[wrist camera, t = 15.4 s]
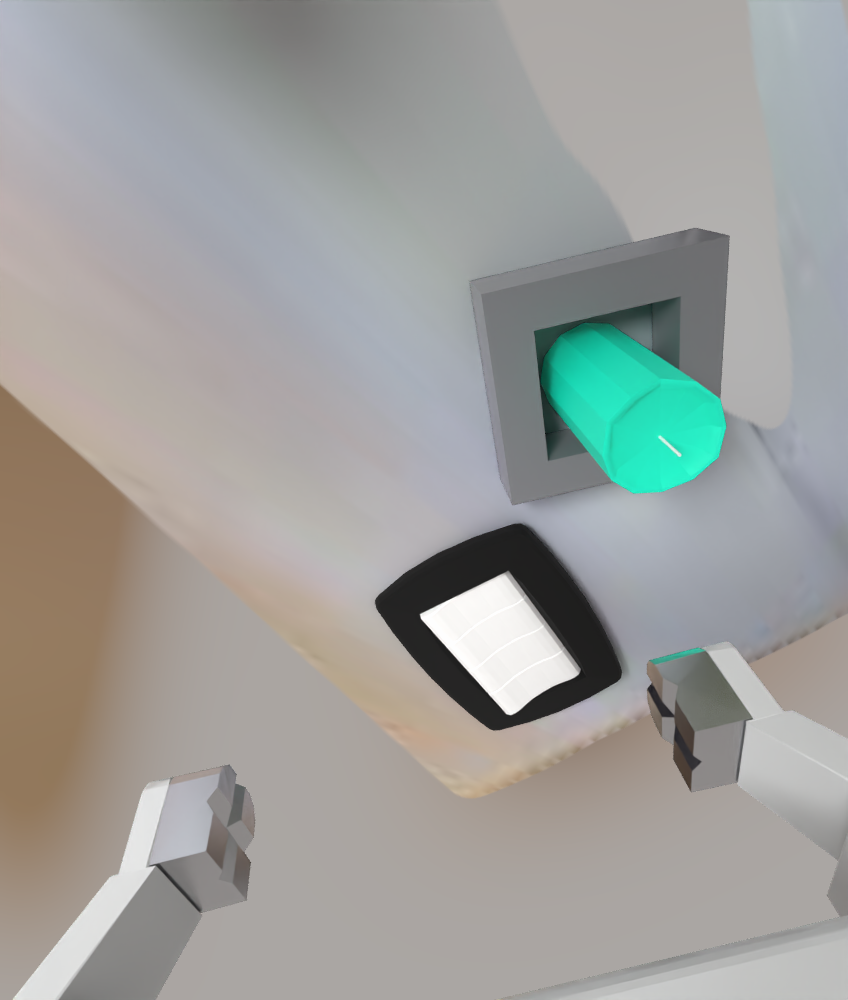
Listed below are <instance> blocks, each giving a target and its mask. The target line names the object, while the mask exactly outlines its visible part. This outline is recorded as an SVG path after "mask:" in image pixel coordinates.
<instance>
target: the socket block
mask: <svg viewBox="0 0 848 1000" xmlns="http://www.w3.org/2000/svg"><path fill="white" fill-rule="evenodd" d="M729 237H730V236H729V235H725V234H720V233H716V232H711V231H707V230H703V229H698V228H693V229H688V230H685V231H680V232H676V233H672V234H667V235H663V236H659V237H654V238H650V239H647V240H642V241H638V242H633V243H629V244H625V245H621V246H616V247H612V248H608V249H604V250H599V251H595V252H591V253H587V254H582V255H578V256H574V257H570V258H565V259H561V260H557V261H553V262H549V263H544V264H540V265H536V266H532V267H527V268H523V269H519V270H515V271H510V272H506V273H502V274H498V275H493V276H489V277H485V278H481V279H477V280H472V281H469V284H470V290H471V296H472V303H473V309H474V315H475V322H476V328H477V335H478V341H479V347H480V354H481V360H482V366H483V373H484V379H485V386H486V392H487V398H488V405H489V411H490V417H491V424H492V430H493V436H494V443H495V449H496V456H497V462H498V468H499V475H500V480H501V482H502V484H503V486H504V488H505V490H506V493H507V495H508V497H509V499H510V501H511V503H512V505H517V504H521V503H525V502H529V501H534V500H538V499H542V498H546V497H551V496H555V495H559V494H564V493H568V492H572V491H576V490H581V489H585V488H589V487H594V486H598V485H602V484H606V483H611V482H613V481H612V480H611V479H610V478H609V477H608V476H607V474H606V473H605V472H604V471H603V469H602V468H601V467H600V466H599V464H598V463H597V462H596V461H595V459H594V458H593V457H592V456H591V454H590V453H589V452H588V451H587V449H586V448H585V447H584V446H583V444H582V443H581V442H580V441H579V439H578V438H577V437H576V436H575V434H574V433H573V432H572V431H571V429H566V430H562V431H557V432H553V433H549V434H545V429H544V420H543V410H542V401H541V392H540V382H539V373H538V364H537V354H536V345H535V336H534V331H536V330H540V329H544V328H548V327H553V326H557V325H561V324H565V323H570V322H574V321H578V320H582V319H587V318H591V317H595V316H599V315H604V314H608V313H612V312H616V311H621V310H625V309H629V308H633V307H638V306H642V305H646V304H650V303H652V352H653V353H654V354H656V355H657V356H659V357H660V358H662V359H663V360H665V361H666V362H668V363H669V364H671V365H672V366H674V367H675V368H677V369H678V370H680V371H681V372H683V373H684V374H686V375H687V376H689V377H690V378H692V379H693V380H695V381H696V382H698V383H699V384H701V385H702V386H703V387H705V388H706V389H707V390H709V391H710V392H711V393H713V394H714V395H716V396H717V397H718V398H720V394H721V376H722V359H723V340H724V324H725V307H726V289H727V272H728V255H729Z"/></svg>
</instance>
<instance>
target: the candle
mask: <svg viewBox="0 0 848 1000" xmlns="http://www.w3.org/2000/svg"><path fill="white" fill-rule="evenodd" d="M540 383H541V385H542V387H543V390H544V392H545V395H546V397H547V399H548V402H549V403H550V405H551V406H552V407H553V408H554V410H555V411H556V412H557V413H558V415H559V416H560V417H561V418H562V419H563V421H564V422H565V423H566V424H567V426H568V427H569V428H570V429H571V431H572V432H573V433H574V434H575V436H576V437H577V438H578V439H579V441H580V442H581V443H582V444H583V446H584V447H585V448H586V449H587V451H588V452H589V453H590V454H591V456H592V457H593V458H594V459H595V461H596V462H597V463H598V464H599V466H600V467H601V468H602V469H603V471H604V472H605V473H606V474H607V476H608V477H609V478H610V479H611V480H612V481H613V482H615V483H617V484H618V485H620V486H622V487H623V488H625V489H627V490H629V491H630V492H632V493H651V492H663V491H665V490H668V489H670V488H673V487H675V486H678V485H680V484H683V483H686V482H688V481H691V480H693V479H694V478H695V477H696V476H698V475H699V474H700V473H701V472H702V471H703V470H705V469H706V468H707V467H708V466H709V465H710V464H711V463H713V462H714V461H715V460H716V459H717V458H718V457H719V454H720V450H721V446H722V442H723V438H724V434H725V430H726V421H725V417H724V413H723V408H722V404H721V400H720V398H718V397H717V396H716V395H714V394H713V393H711V392H710V391H709V390H707V389H706V388H705V387H703V386H702V385H701V384H699V383H698V382H696V381H695V380H693V379H692V378H690V377H689V376H687V375H686V374H684V373H683V372H681V371H680V370H678V369H677V368H675V367H674V366H672V365H671V364H669V363H668V362H666V361H665V360H663V359H662V358H660V357H659V356H657V355H656V354H654V353H653V352H651V351H650V350H648V349H647V348H645V347H644V346H642V345H641V344H639V343H638V342H636V341H635V340H633V339H632V338H630V337H629V336H627V335H626V334H624V333H623V332H621V331H620V330H618V329H617V328H615V327H614V326H612V325H611V324H609V323H582V324H580V325H579V326H577V327H575V328H573V329H571V330H569V331H567V332H565V333H563V334H561V335H560V336H559V337H558V339H557V340H556V341H555V343H554V344H553V345H552V347H551V348H550V350H549V351H548V352H547V354H546V355H545V356H544V360H543V367H542V373H541V379H540Z"/></svg>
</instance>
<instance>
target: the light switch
mask: <svg viewBox="0 0 848 1000" xmlns="http://www.w3.org/2000/svg"><path fill="white" fill-rule="evenodd" d="M375 604H376V608H377V610H378V612H379V613H380V614H381V616H382V617H383V619H384V620H385V622H386V623H387V625H388V626H389V627H390V629H391V630H392V632H393V633H394V634H395V636H396V637H397V638H398V639H399V641H400V642H401V643H402V644H403V646H404V647H405V648H406V649H407V651H408V652H409V653H410V654H411V656H412V657H413V658H414V659H415V660H416V662H417V663H418V664H419V665H420V666H421V667H422V668H423V669H424V670H425V672H426V673H427V674H428V675H429V676H430V677H431V678H432V679H433V680H434V681H435V682H436V683H437V684H438V685H439V686H440V687H441V688H442V689H443V690H444V691H445V692H446V693H447V694H448V695H449V696H450V697H451V698H452V699H454V700H455V701H456V702H457V703H458V704H459V705H460V706H462V707H463V708H464V709H465V710H466V711H467V712H468V713H470V714H471V715H472V716H473V717H474V718H476V719H477V720H478V721H480V722H481V723H482V724H484V725H485V726H486V727H488V728H489V729H491V730H502V729H505V728H509V727H513V726H516V725H520V724H524V723H528V722H531V721H534V720H536V719H539V718H542V717H545V716H548V715H551V714H554V713H556V712H559V711H561V710H563V709H566V708H568V707H570V706H572V705H574V704H576V703H579V702H581V701H583V700H585V699H587V698H589V697H591V696H593V695H595V694H596V693H598V692H600V691H602V690H603V689H605V688H607V687H609V686H610V685H612V684H614V683H616V682H617V681H618V680H619V679H620V678H621V674H622V670H621V667H620V664H619V662H618V659H617V657H616V654H615V652H614V649H613V647H612V645H611V643H610V641H609V639H608V637H607V635H606V633H605V631H604V629H603V627H602V625H601V623H600V621H599V620H598V618H597V617H596V615H595V613H594V612H593V610H592V608H591V607H590V605H589V603H588V602H587V600H586V598H585V597H584V596H583V594H582V593H581V592H580V590H579V589H578V587H577V586H576V585H575V583H574V582H573V580H572V579H571V578H570V576H569V575H568V574H567V572H566V571H565V570H564V569H563V568H562V566H561V565H560V564H559V563H558V561H557V560H556V559H555V558H554V557H553V555H552V554H551V553H550V552H549V551H548V549H547V548H546V547H545V546H544V545H543V544H542V543H541V542H540V541H539V540H538V539H537V538H536V537H535V535H534V534H533V533H532V532H531V531H530V530H529V529H528V528H527V527H526V526H524V525H522V524H513V525H510V526H507V527H504V528H501V529H498V530H494V531H491V532H488V533H485V534H482V535H479V536H476V537H473V538H471V539H469V540H467V541H465V542H462V543H460V544H458V545H456V546H453V547H451V548H449V549H447V550H444V551H442V552H440V553H438V554H436V555H434V556H432V557H431V558H429V559H427V560H426V561H424V562H422V563H421V564H419V565H417V566H416V567H414V568H412V569H411V570H409V571H407V572H406V573H405V574H403V575H402V576H401V577H400V578H398V579H397V580H396V581H395V582H394V583H393V584H391V585H390V586H389V587H388V588H387V589H385V590H384V591H383V592H382V593H381V594H380V595H378V597H377V598H376V600H375Z"/></svg>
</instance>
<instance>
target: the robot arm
mask: <svg viewBox="0 0 848 1000" xmlns="http://www.w3.org/2000/svg"><path fill="white" fill-rule="evenodd" d="M647 675H648V677H649V678H650V680H651V682H652V683H651V685H650V686H649V687H648V688H647V699H648V704H649V708H650V712H651V716H652V718H653V720H654V723H655V725H656V727H657V729H658V731H659V733H660V735H661V737H662V738H663V739H664V740H666V741H668V742H669V743H671V744H672V745H674V748H673V760H674V762H675V764H676V765H677V767H678V769H679V771H680V773H681V774H682V776H683V778H684V780H685V782H686V784H687V786H688V788H689V790H690V791H691V792H695V791H700V790H704V789H709V788H714V787H719V786H723V785H728V784H732V783H737V782H738V786H739V787H741V788H742V789H743V790H745V791H746V792H747V793H749V794H750V795H752V796H753V797H754V798H755V799H757V800H758V801H759V802H761V803H762V804H763V805H765V806H766V807H767V808H769V809H770V810H771V811H773V812H774V813H775V814H777V815H778V816H779V817H781V818H782V819H783V820H785V821H786V822H787V823H789V824H790V825H791V826H793V827H794V828H795V829H797V830H798V831H799V832H801V833H802V834H803V835H805V836H806V837H807V838H809V839H810V840H812V841H813V842H814V843H815V844H817V845H818V846H819V847H821V848H822V849H823V850H825V851H826V852H827V853H829V854H830V855H831V856H833V857H834V858H835V859H837V860H838V863H837V867H836V870H835V872H834V875H833V878H832V881H831V884H830V887H829V890H828V894H827V896H828V898H829V900H830V901H831V903H832V905H833V906H834V908H835V909H836V911H837V913H838V914H839V916H840V917H838V918H834V919H829V920H825V921H822V922H817V923H813V924H809V925H805V926H800V927H796V928H792V929H788V930H784V931H780V932H776V933H771V934H767V935H763V936H759V937H755V938H750V939H746V940H743V941H738V942H734V943H730V944H726V945H721V946H717V947H713V948H709V949H705V950H701V951H696V952H692V953H688V954H684V955H680V956H676V957H672V958H668V959H663V960H659V961H655V962H651V963H647V964H642V965H639V966H634V967H630V968H626V969H622V970H618V971H613V972H609V973H605V974H601V975H597V976H593V977H588V978H584V979H580V980H576V981H572V982H568V983H564V984H559V985H555V986H551V987H547V988H543V989H539V990H535V991H530V992H526V993H522V994H518V995H514V996H509V997H505V998H502V999H497V1000H848V739H847V738H845V737H844V736H841V735H840V734H838V733H836V732H834V731H832V730H830V729H828V728H826V727H824V726H822V725H820V724H819V723H817V722H815V721H813V720H811V719H809V718H807V717H805V716H803V715H801V714H799V713H798V712H796V711H794V710H790V711H785V712H784V710H783V709H782V708H781V706H780V705H779V704H778V702H777V701H776V700H775V699H774V697H773V696H772V695H771V693H770V692H769V691H768V690H767V688H766V687H765V686H764V684H763V683H762V682H761V680H760V679H759V678H758V676H757V675H756V674H755V672H753V670H752V669H751V667H750V666H749V665H748V663H747V662H746V661H745V659H744V658H743V657H742V656H741V654H740V653H739V652H738V650H737V649H736V648H735V646H734V645H733V644H731V643H729V642H728V641H726V642H721V643H717V644H713V645H710V646H706V647H702V648H695V649H691V650H687V651H683V652H679V653H675V654H672V655H668V656H664V657H660V658H656V659H653V660H649V662H648V664H647ZM236 775H237V774H236V773H235V772H234V770H233V769H232V767H231V766H230V765H225V766H220V767H216V768H212V769H207V770H202V771H198V772H194V773H189V774H184V775H180V776H175V777H170V778H166V779H163V780H158V781H154V782H150V783H148V784H147V786H146V787H145V789H144V790H143V792H142V795H141V798H140V801H139V805H138V809H137V812H136V815H135V819H134V822H133V825H132V829H131V833H130V836H129V839H128V843H127V846H126V850H125V853H124V857H123V860H122V864H121V867H120V870H119V874H117V875H114V876H110V878H109V879H108V880H107V881H106V883H105V884H104V885H103V887H102V888H101V889H100V890H99V892H98V893H97V894H96V895H95V897H94V898H93V899H92V901H91V902H90V903H89V904H88V906H87V907H86V908H85V909H84V910H83V912H82V913H81V914H80V916H79V917H78V918H77V919H76V921H75V922H74V923H73V924H72V926H71V927H70V928H69V929H68V931H67V932H66V933H65V934H64V936H63V937H62V938H61V939H60V941H59V942H58V943H57V945H56V946H55V947H54V948H53V949H52V951H51V952H50V953H49V954H48V956H47V957H46V958H45V959H44V961H43V962H42V963H41V965H40V966H39V967H38V968H37V970H36V971H35V972H34V973H33V975H32V976H31V977H30V978H29V980H28V981H27V982H26V984H25V985H24V986H23V987H22V989H21V990H20V991H19V992H18V994H17V995H16V996H15V997H14V999H13V1000H155V999H156V998H157V996H158V995H159V993H160V991H161V989H162V987H163V985H164V983H165V982H166V980H167V978H168V976H169V975H170V973H171V971H172V969H173V967H174V966H175V964H176V962H177V960H178V958H179V957H180V955H181V953H182V951H183V949H184V948H185V946H186V944H187V942H188V940H189V938H190V937H191V935H192V933H193V931H194V929H195V928H196V926H197V924H198V922H199V921H200V919H201V916H202V914H201V913H203V912H206V911H210V910H214V909H217V908H221V907H225V906H228V905H232V904H235V903H239V902H243V901H246V900H247V891H248V883H249V874H250V865H251V862H250V860H249V859H248V857H247V856H246V854H245V852H244V851H245V850H246V848H247V847H248V845H249V844H250V842H251V841H252V839H253V838H254V828H255V815H254V805H253V802H252V799H251V796H250V794H249V792H248V791H247V789H246V788H245V787H243V786H241V785H238V784H236V783H235V781H236Z"/></svg>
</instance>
